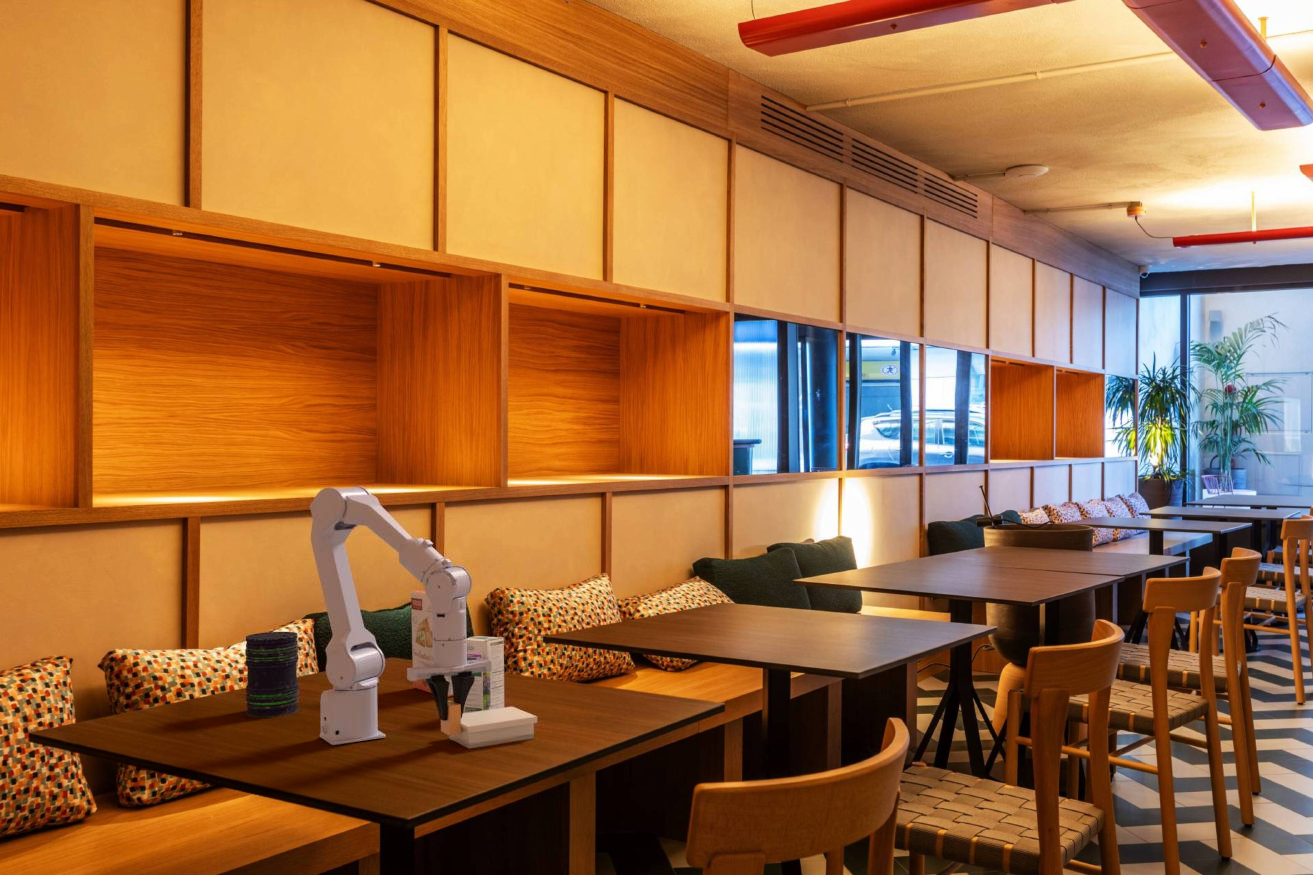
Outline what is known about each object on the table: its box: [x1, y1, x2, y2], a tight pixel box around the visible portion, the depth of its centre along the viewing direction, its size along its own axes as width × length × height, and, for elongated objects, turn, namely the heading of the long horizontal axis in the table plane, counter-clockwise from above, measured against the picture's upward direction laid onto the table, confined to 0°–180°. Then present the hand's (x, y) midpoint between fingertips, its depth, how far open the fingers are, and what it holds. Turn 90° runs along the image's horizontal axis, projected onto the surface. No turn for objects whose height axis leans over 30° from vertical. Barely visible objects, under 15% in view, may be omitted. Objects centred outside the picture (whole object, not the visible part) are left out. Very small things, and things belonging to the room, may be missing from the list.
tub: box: [448, 723, 535, 749], centre depth 198 cm, size 12×9×3 cm
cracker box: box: [410, 589, 453, 698], centre depth 241 cm, size 14×6×21 cm, turn 39°
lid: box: [440, 700, 538, 737], centre depth 198 cm, size 15×10×5 cm
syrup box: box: [463, 635, 505, 713], centre depth 218 cm, size 6×6×14 cm
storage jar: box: [244, 631, 300, 718], centre depth 223 cm, size 10×10×15 cm
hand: (450, 718), depth 194 cm, fingers closed on lid, 2 cm apart
